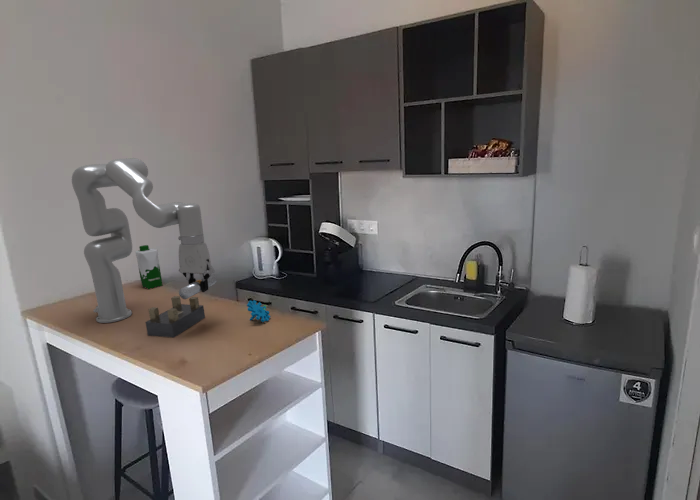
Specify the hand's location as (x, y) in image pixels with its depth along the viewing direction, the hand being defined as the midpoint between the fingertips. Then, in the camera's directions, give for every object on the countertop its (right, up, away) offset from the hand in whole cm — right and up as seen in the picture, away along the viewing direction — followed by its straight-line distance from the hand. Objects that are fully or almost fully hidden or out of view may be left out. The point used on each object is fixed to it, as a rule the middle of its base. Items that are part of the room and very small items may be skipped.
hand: (199, 290), depth 154 cm
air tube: (0, +1, 0) cm, 2 cm away
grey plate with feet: (-10, -14, +7) cm, 18 cm away
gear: (+20, -12, +8) cm, 25 cm away
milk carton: (-43, -4, +59) cm, 74 cm away
